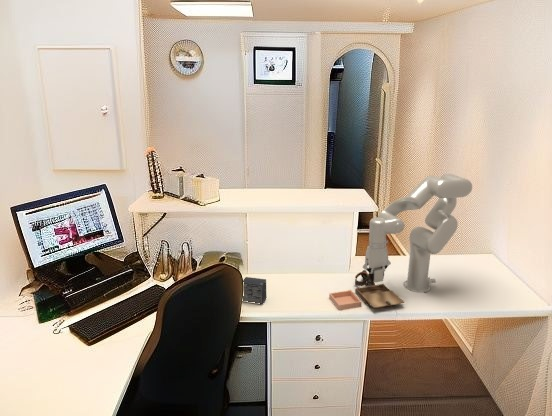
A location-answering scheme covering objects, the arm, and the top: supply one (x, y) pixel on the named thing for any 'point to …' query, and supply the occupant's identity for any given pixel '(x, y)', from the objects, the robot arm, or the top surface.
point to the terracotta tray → (345, 300)
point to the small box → (254, 290)
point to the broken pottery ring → (365, 279)
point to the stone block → (378, 274)
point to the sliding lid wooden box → (378, 296)
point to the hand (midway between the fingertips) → (376, 278)
